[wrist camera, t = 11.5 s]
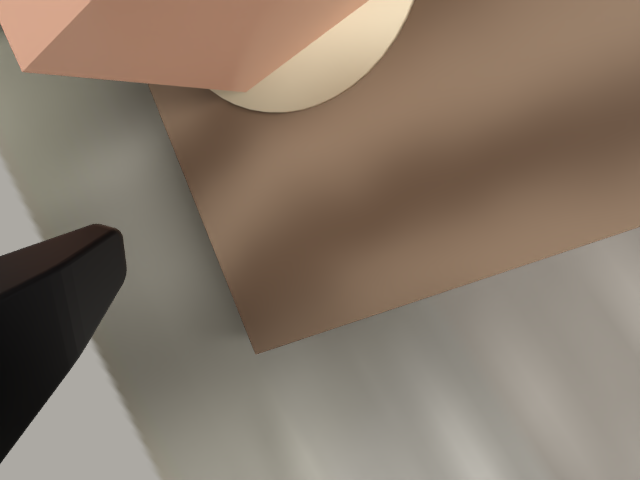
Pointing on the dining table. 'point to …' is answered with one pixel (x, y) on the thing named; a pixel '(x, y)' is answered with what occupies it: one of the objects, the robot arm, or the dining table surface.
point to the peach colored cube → (167, 38)
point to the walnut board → (414, 155)
